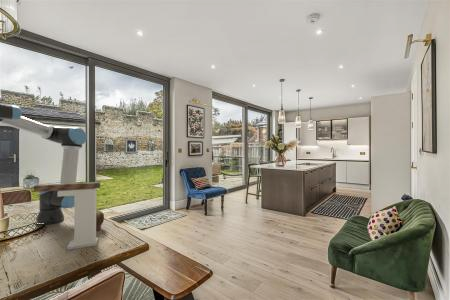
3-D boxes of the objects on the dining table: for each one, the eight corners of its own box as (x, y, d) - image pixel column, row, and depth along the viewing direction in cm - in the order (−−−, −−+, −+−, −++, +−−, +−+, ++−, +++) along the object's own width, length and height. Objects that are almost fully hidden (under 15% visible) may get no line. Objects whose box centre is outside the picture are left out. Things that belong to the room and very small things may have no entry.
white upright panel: (57, 251, 111) (57, 191, 111) (61, 244, 119) (61, 188, 118) (96, 245, 118) (96, 189, 117) (98, 239, 126) (98, 186, 125)
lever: (34, 191, 109) (34, 185, 109) (36, 190, 112) (36, 184, 111) (99, 188, 120) (99, 182, 120) (100, 187, 123) (100, 181, 123)
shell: (94, 234, 132) (94, 214, 132) (79, 232, 134) (79, 212, 134) (107, 227, 143) (108, 209, 143) (93, 226, 145) (93, 207, 145)
